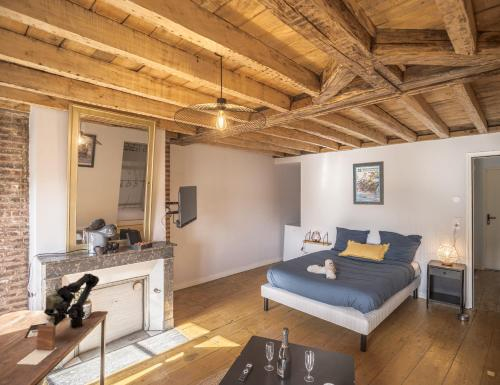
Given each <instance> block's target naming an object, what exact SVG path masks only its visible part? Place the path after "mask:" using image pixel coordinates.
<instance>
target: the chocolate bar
mask: <svg viewBox="0 0 500 385" xmlns="http://www.w3.org/2000/svg"><path fill="white" fill-rule="evenodd" d="M39 325H47V322H44V323H39V324H38V323H37V324H31V325H30V326H29V328H28V330H27V332H26V334H25V336H24V339H27V338H30V337H32V338H33V337H37V334H38V326H39Z"/></svg>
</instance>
